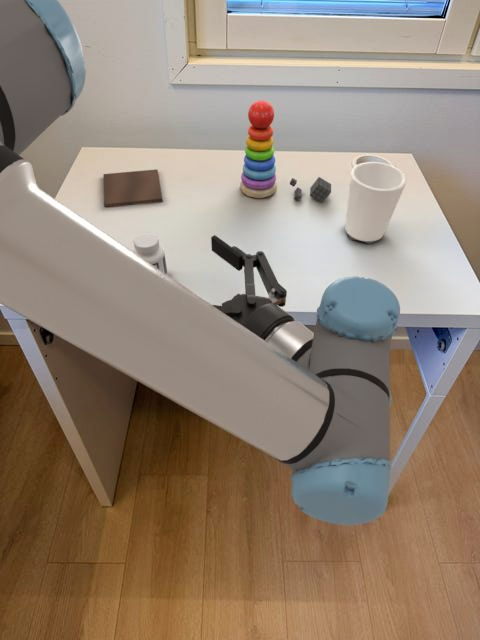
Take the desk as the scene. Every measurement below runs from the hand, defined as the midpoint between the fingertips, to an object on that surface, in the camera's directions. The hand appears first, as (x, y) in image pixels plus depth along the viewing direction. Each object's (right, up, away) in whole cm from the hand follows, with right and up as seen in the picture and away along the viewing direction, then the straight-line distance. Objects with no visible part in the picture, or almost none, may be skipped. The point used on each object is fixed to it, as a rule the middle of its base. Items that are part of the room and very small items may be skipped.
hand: (178, 261), depth 71 cm
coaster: (-14, +20, +31) cm, 39 cm away
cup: (+34, +8, +22) cm, 41 cm away
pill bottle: (-6, -2, +12) cm, 13 cm away
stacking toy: (+13, +20, +32) cm, 40 cm away
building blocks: (+24, +17, +30) cm, 42 cm away
